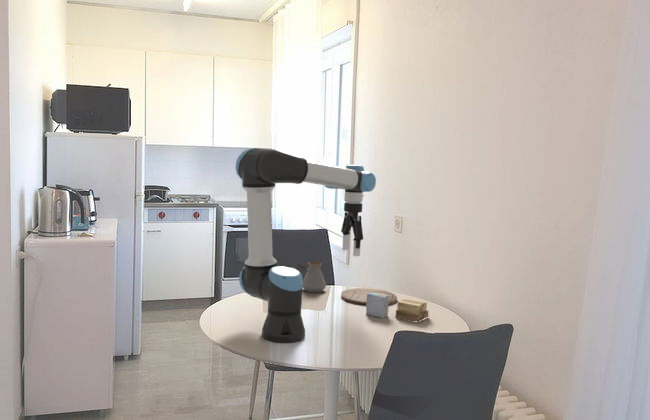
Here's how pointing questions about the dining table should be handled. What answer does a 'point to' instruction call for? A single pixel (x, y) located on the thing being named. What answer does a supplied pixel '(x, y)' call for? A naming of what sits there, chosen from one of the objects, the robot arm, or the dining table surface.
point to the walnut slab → (411, 315)
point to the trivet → (364, 295)
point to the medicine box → (377, 305)
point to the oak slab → (412, 306)
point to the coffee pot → (313, 278)
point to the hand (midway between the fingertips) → (350, 253)
